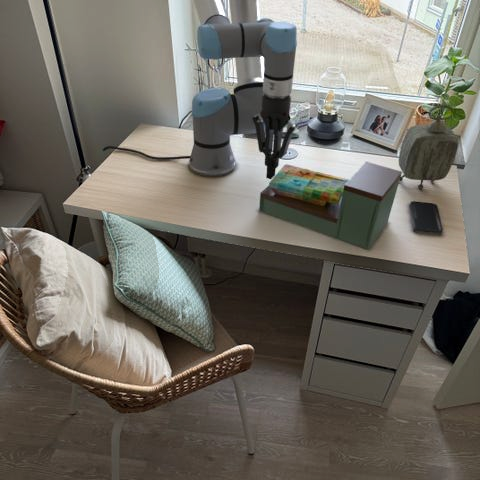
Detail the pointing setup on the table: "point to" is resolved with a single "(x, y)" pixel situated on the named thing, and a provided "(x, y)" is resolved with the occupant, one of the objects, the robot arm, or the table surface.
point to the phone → (425, 218)
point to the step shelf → (343, 207)
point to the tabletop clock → (428, 150)
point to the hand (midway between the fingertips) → (270, 176)
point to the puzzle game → (308, 185)
